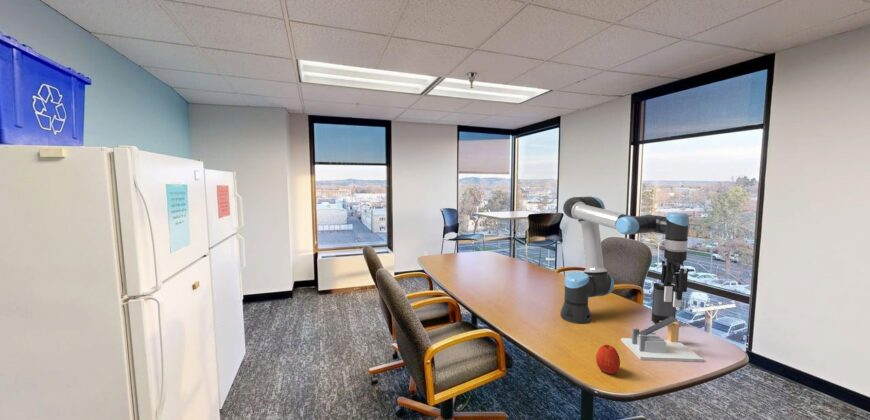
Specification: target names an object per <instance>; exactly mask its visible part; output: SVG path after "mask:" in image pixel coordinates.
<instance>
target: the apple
mask: <svg viewBox="0 0 870 420" xmlns="http://www.w3.org/2000/svg"><path fill="white" fill-rule="evenodd" d="M595 362H596V364H597V367H598V369H599V370H600V371H602V372H604V373H606V374H610V375H613V374H615V373H617V372H618V371H619V369H620V367H621V366H620V365H621V359H620V355H619V353H618V351H617V349H616V348H615V347H614V346H613V345H610V344H603V345H601V346H600V347H599V348H598V350H597V352H596V353H595Z"/></svg>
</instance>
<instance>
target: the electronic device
mask: <svg viewBox="0 0 870 420" xmlns="http://www.w3.org/2000/svg"><path fill="white" fill-rule="evenodd" d="M672 285H673V286H670V287H672V302H665V301H664V288H665V286H664V284H660V283H659V282H654V283H653V286H652V287H653V289H652V290H653V291H652V303H651V306H652V308H651V321H652V323H653V325H655V324H657V323H659V322H660V321H663V320H665V319H667V318H669V317H671V316H673V317H674V318H676V314H677V313H676V312H677V307H673V297H674V290H675V284H672ZM675 291H676V290H675Z"/></svg>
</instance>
